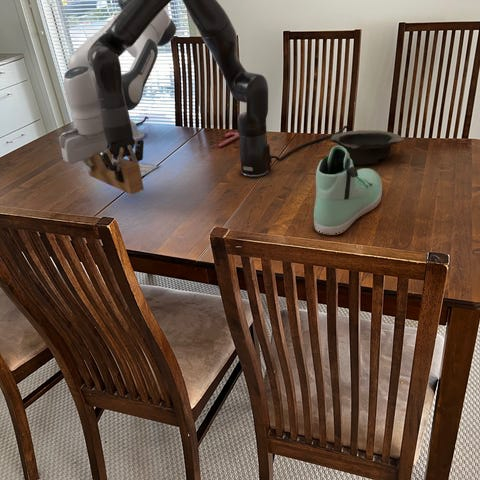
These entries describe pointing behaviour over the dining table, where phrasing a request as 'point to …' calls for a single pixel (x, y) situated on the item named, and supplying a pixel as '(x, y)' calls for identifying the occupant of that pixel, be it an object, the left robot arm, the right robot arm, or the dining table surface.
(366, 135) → the stone bowl
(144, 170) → the baking ingredient package
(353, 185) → the sneaker
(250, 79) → the right robot arm
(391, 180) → the dining table surface
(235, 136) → the candy cane
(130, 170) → the bar
